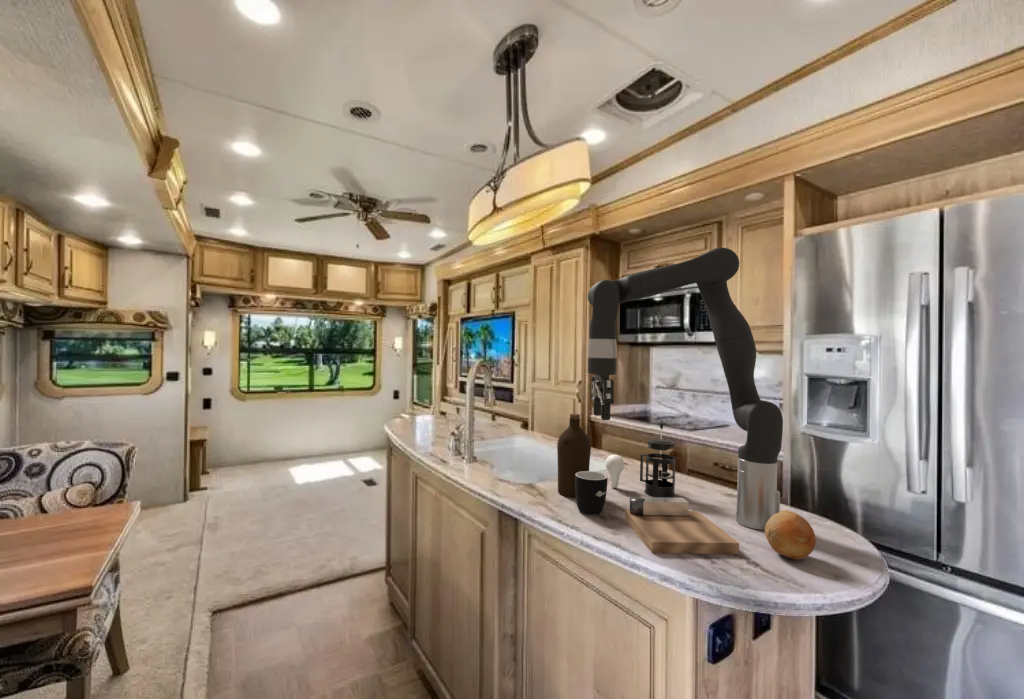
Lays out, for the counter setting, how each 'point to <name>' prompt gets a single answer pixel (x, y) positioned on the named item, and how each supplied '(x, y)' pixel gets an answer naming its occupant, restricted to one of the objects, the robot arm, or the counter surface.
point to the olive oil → (572, 456)
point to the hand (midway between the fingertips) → (601, 417)
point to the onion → (790, 535)
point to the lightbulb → (614, 469)
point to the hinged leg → (659, 506)
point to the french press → (658, 486)
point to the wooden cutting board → (681, 534)
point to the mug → (590, 492)
